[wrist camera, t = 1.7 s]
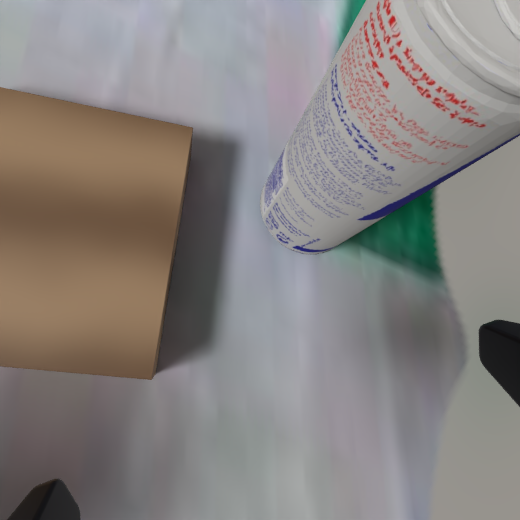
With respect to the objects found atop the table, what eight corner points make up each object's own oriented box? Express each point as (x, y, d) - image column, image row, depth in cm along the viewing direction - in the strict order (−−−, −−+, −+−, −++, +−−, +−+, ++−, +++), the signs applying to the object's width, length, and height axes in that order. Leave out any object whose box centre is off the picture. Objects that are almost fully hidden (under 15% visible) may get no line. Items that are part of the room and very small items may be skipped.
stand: (155, 374, 19) (151, 379, 16) (-123, 348, 17) (-186, 349, 14) (190, 156, 22) (192, 127, 19) (-44, 109, 19) (-83, 69, 17)
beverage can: (332, 271, 22) (622, 139, 8) (243, 231, 21) (379, 8, 7) (359, 190, 24) (644, -48, 9) (278, 151, 23) (446, -169, 9)
